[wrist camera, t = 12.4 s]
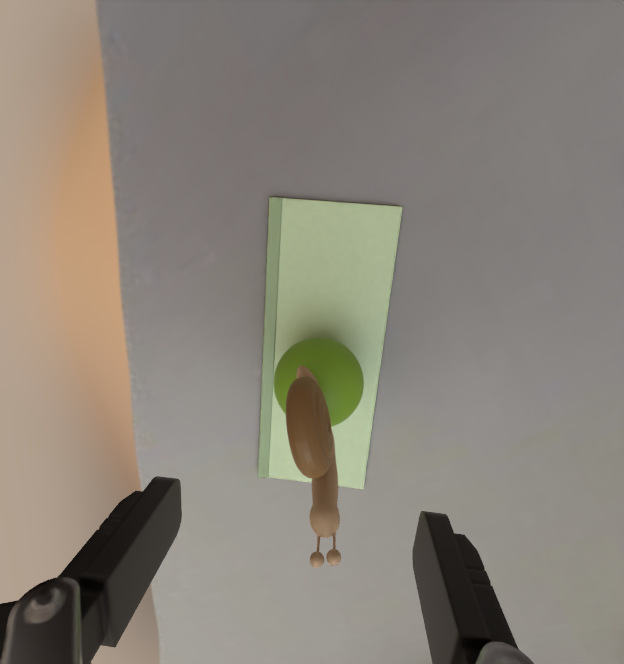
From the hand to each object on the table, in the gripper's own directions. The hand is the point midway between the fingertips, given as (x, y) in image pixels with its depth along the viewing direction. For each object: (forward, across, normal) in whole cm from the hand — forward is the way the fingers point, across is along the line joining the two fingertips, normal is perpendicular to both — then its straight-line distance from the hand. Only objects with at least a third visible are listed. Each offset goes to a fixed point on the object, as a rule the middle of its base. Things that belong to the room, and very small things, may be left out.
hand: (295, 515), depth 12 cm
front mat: (+13, 0, -1) cm, 13 cm away
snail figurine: (+13, 0, 0) cm, 13 cm away
